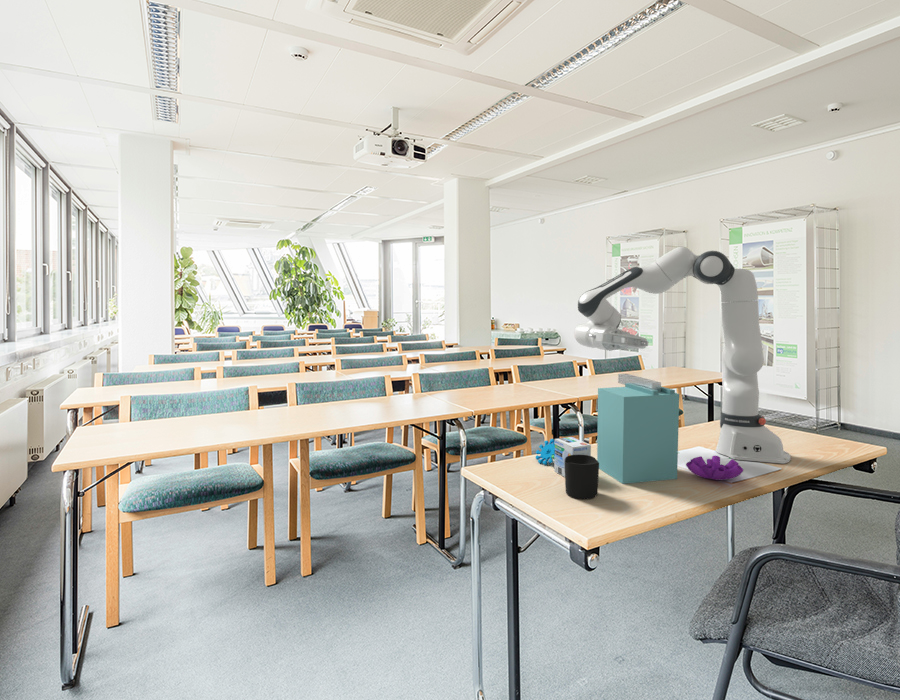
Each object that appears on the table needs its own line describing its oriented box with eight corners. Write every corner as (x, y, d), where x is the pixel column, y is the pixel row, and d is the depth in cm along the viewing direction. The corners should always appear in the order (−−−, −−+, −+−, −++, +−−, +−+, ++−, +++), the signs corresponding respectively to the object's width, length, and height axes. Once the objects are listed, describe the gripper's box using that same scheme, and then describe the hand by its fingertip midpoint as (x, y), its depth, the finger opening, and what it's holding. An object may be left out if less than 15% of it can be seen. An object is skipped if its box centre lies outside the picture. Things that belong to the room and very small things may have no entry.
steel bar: (618, 382, 179) (618, 374, 179) (626, 382, 180) (626, 373, 179) (651, 392, 159) (652, 382, 159) (660, 392, 160) (661, 382, 160)
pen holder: (604, 493, 149) (605, 458, 148) (588, 503, 142) (589, 466, 141) (574, 485, 155) (574, 452, 154) (558, 494, 148) (558, 460, 147)
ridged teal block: (597, 467, 171) (598, 384, 169) (647, 463, 175) (649, 381, 172) (622, 483, 156) (623, 392, 153) (677, 478, 159) (679, 389, 157)
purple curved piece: (693, 482, 166) (703, 454, 169) (743, 495, 154) (753, 465, 157) (679, 466, 160) (689, 438, 163) (730, 479, 148) (740, 448, 151)
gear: (529, 455, 180) (548, 433, 182) (538, 464, 183) (557, 443, 184) (547, 468, 171) (567, 445, 172) (557, 478, 173) (576, 455, 174)
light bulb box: (553, 471, 168) (553, 438, 167) (571, 468, 170) (571, 436, 169) (572, 482, 158) (572, 446, 157) (591, 479, 160) (591, 444, 159)
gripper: (587, 326, 186) (614, 329, 174) (630, 332, 195) (659, 336, 183) (584, 343, 187) (611, 348, 174) (627, 349, 196) (656, 354, 183)
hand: (636, 342), depth 179 cm, fingers open, 8 cm apart
